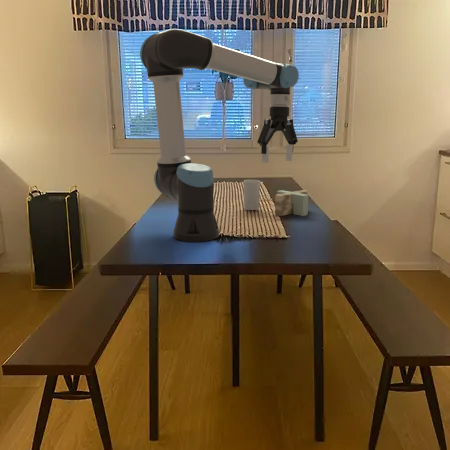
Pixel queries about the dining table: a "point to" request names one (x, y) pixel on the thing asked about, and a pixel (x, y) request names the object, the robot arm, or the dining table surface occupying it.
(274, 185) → the dining table surface
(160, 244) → the dining table surface
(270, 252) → the dining table surface
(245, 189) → the mug
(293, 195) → the grey-green block
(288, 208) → the u-shaped wooden block
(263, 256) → the dining table surface
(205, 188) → the robot arm
